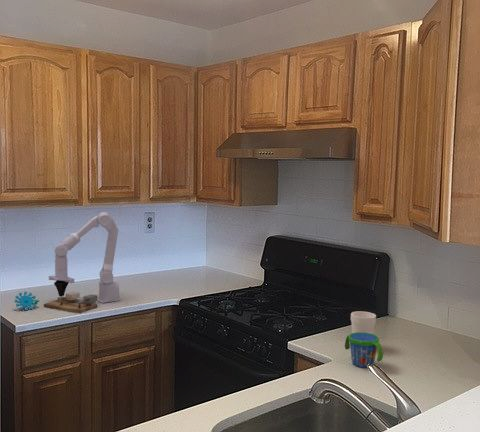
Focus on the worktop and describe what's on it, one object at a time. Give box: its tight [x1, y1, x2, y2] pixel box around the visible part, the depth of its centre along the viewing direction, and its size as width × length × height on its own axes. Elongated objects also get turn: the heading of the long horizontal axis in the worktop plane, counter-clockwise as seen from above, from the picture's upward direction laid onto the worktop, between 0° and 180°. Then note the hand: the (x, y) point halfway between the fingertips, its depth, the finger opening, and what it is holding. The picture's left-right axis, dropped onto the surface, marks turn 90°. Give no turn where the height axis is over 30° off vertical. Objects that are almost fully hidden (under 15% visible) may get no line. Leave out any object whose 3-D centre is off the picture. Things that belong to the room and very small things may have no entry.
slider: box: [59, 291, 81, 304], centre depth 258 cm, size 11×4×4 cm, turn 155°
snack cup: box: [344, 332, 384, 368], centre depth 191 cm, size 16×10×10 cm
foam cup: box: [350, 310, 377, 334], centre depth 208 cm, size 10×9×13 cm
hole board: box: [43, 299, 98, 314], centre depth 256 cm, size 12×22×2 cm, turn 65°
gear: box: [14, 291, 40, 312], centre depth 253 cm, size 11×6×10 cm
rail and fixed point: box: [56, 294, 98, 307], centre depth 257 cm, size 11×21×4 cm, turn 65°
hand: (61, 295), depth 263 cm, fingers closed
